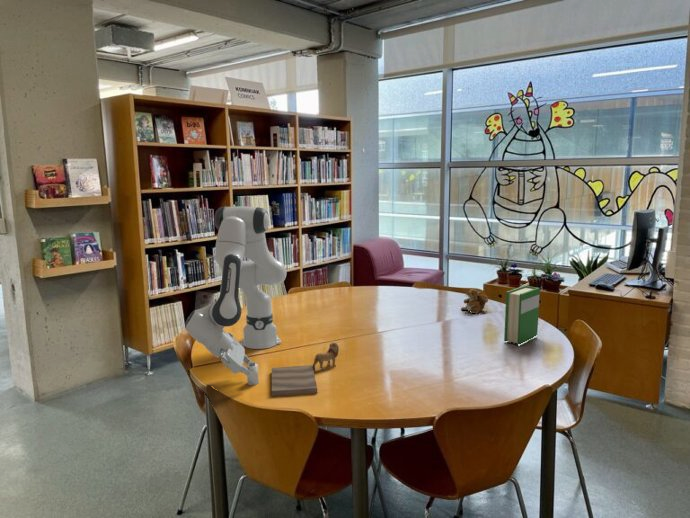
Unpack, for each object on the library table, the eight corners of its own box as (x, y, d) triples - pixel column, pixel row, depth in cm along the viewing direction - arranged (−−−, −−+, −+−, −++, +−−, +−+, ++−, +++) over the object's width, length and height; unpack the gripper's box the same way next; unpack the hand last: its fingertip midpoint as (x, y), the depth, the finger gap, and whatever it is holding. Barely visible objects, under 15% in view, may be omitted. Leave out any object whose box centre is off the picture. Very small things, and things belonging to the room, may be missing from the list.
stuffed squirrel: (459, 310, 286) (459, 287, 284) (479, 307, 292) (480, 285, 289) (470, 314, 277) (470, 291, 275) (490, 311, 282) (491, 289, 280)
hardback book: (519, 346, 225) (521, 294, 221) (504, 342, 230) (506, 291, 226) (537, 337, 237) (539, 288, 233) (522, 334, 242) (524, 285, 238)
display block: (271, 372, 198) (271, 367, 197) (312, 370, 200) (312, 365, 200) (272, 396, 176) (271, 391, 176) (317, 393, 179) (317, 387, 178)
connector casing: (247, 381, 190) (247, 361, 188) (258, 380, 190) (257, 360, 189) (247, 385, 186) (246, 365, 184) (258, 384, 186) (257, 364, 185)
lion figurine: (332, 360, 210) (332, 340, 209) (342, 363, 207) (341, 342, 205) (308, 371, 199) (308, 349, 197) (318, 374, 195) (318, 352, 194)
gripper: (225, 348, 174) (255, 373, 177) (230, 331, 194) (256, 353, 197) (213, 361, 174) (243, 386, 177) (219, 343, 194) (245, 365, 197)
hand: (250, 369), depth 187 cm, fingers open, 8 cm apart
